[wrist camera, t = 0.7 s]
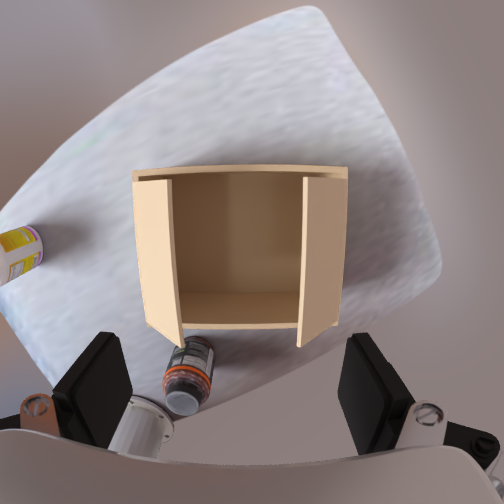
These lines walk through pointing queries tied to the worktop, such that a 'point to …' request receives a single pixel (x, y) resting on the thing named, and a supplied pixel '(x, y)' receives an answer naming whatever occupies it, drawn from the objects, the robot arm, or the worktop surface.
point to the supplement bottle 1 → (19, 252)
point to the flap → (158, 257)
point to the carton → (239, 242)
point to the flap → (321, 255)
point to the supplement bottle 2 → (189, 376)
